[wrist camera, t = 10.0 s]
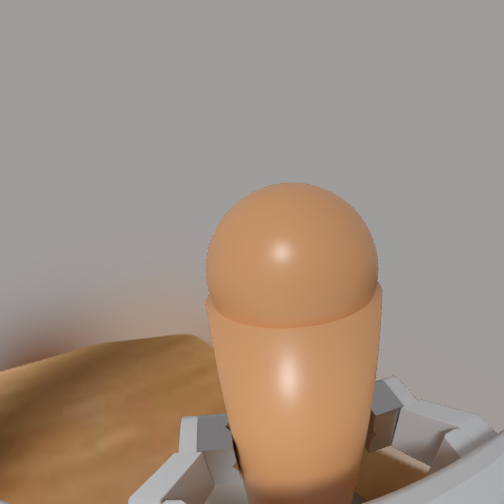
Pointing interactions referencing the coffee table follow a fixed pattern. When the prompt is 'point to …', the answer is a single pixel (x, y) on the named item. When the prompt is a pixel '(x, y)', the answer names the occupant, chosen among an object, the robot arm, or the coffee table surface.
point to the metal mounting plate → (235, 499)
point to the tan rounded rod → (295, 340)
